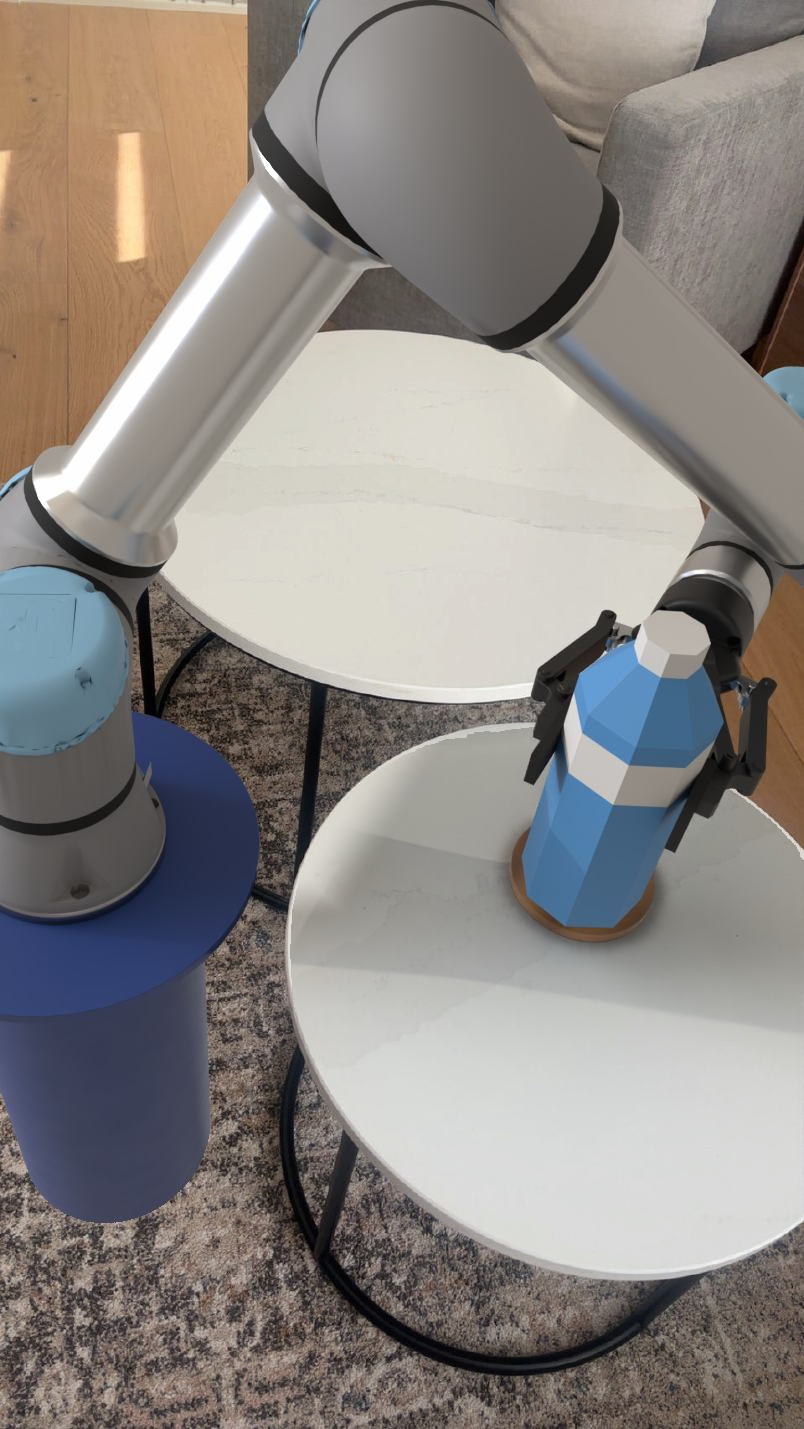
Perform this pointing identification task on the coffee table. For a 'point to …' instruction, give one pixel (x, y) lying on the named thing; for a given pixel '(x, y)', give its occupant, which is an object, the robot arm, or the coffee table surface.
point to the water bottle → (622, 772)
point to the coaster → (577, 933)
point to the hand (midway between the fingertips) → (602, 803)
